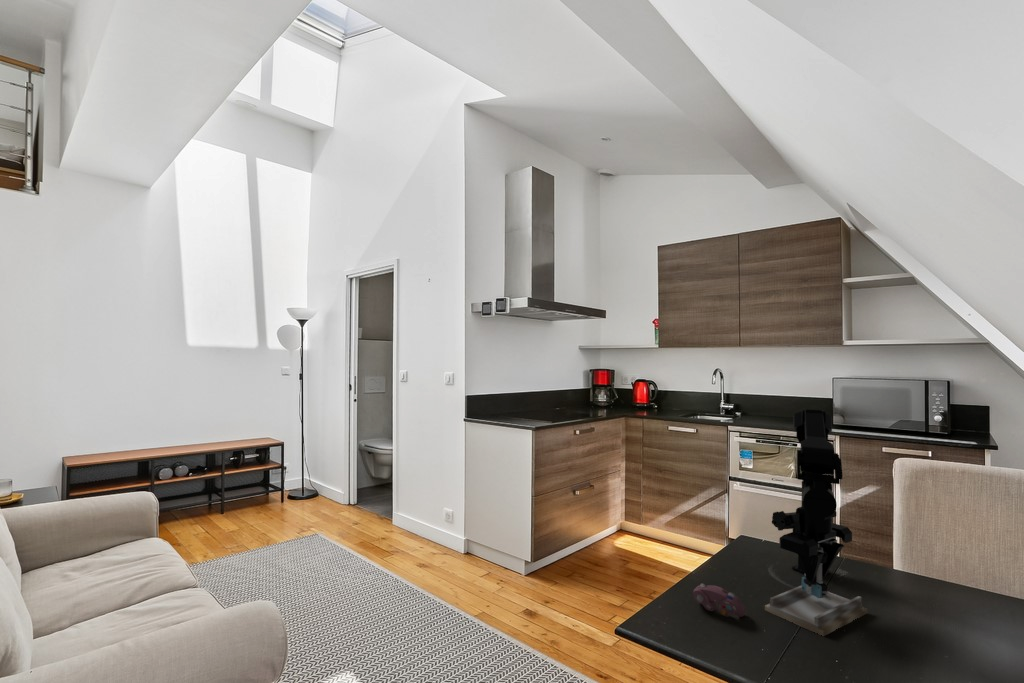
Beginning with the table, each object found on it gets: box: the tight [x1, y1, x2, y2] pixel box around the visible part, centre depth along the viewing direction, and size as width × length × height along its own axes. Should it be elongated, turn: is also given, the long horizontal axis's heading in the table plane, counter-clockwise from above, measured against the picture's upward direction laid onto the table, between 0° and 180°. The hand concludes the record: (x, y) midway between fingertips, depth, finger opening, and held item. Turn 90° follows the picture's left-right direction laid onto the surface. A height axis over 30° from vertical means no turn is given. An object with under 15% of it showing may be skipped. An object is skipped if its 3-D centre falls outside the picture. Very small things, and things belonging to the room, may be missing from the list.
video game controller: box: [692, 583, 746, 618], centre depth 110 cm, size 10×5×7 cm, turn 48°
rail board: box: [764, 584, 868, 637], centre depth 111 cm, size 18×12×3 cm, turn 123°
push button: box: [801, 546, 831, 600], centre depth 112 cm, size 7×5×10 cm
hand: (816, 578), depth 112 cm, fingers closed on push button, 4 cm apart
